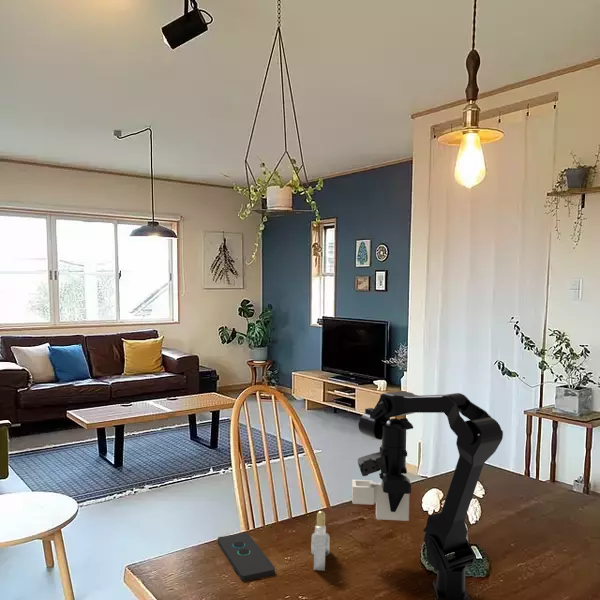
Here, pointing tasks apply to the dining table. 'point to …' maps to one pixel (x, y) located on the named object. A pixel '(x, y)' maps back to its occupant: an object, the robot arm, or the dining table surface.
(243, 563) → the smart home device
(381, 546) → the dining table surface
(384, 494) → the square loop paddle
